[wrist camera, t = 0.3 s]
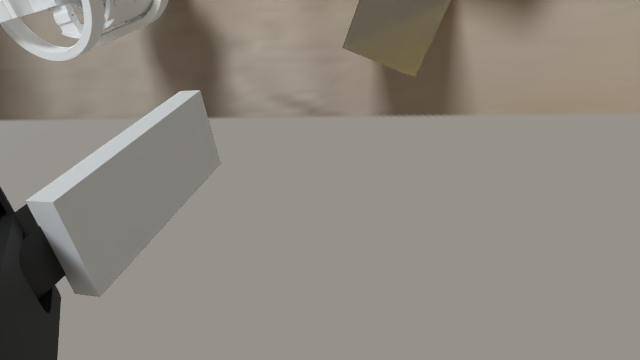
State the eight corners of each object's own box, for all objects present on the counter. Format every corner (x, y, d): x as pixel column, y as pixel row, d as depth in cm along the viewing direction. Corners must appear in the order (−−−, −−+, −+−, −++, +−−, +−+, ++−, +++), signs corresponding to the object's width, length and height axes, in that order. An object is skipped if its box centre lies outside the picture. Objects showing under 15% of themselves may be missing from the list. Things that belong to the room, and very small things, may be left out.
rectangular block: (372, 9, 35) (342, 47, 27) (395, -54, 33) (370, -32, 24) (427, 31, 35) (415, 77, 27) (456, -30, 32) (451, 0, 24)
